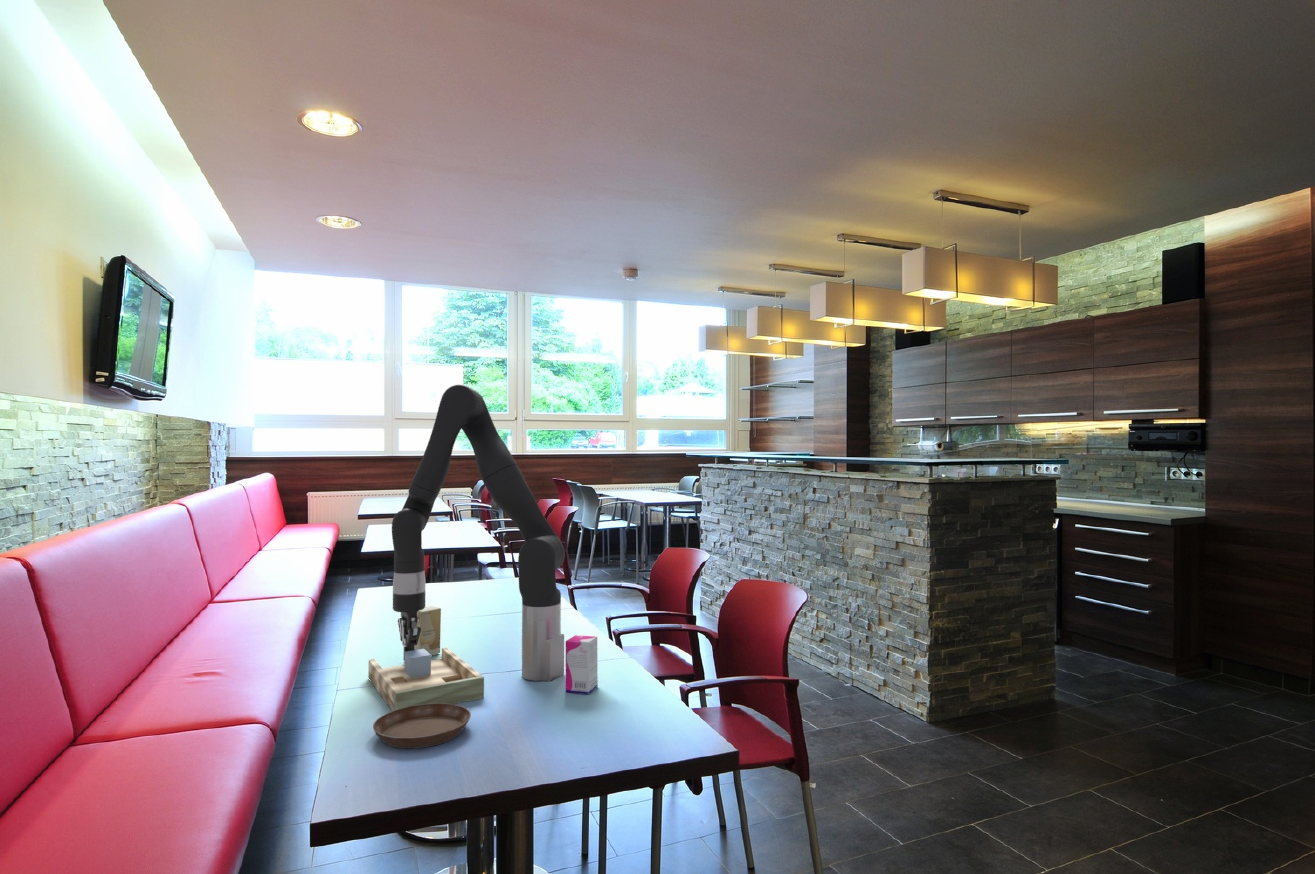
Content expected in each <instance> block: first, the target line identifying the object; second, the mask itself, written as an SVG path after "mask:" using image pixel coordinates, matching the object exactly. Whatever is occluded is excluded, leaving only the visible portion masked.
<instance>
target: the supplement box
mask: <svg viewBox="0 0 1315 874" xmlns="http://www.w3.org/2000/svg"><path fill="white" fill-rule="evenodd" d="M598 682H599V680H598V636H596V635H595V636H591V635H577V634H575V635H573V636H572V637H569V639H567V640H565V693H571V694H579V693H582V694H581V695H590V694H591V693H592V692H593V691H595V690H596V689H597V687H598ZM596 686H597V687H596ZM583 693H584V694H583ZM589 693H590V694H589Z"/></svg>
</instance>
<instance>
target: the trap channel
mask: <svg viewBox="0 0 1315 874" xmlns="http://www.w3.org/2000/svg"><path fill="white" fill-rule="evenodd" d="M367 676H368V678H369V679H370V680H371V682H372V683H373V684H372V683H371V682H370V683H371V684H372V686H373V685H374V686H375V687H376V689H377V690H378V691H377V690H376V689H375V690H376V691H377V693H378V692H379V693H380V694H381V695H380V694H379V693H378V694H379V695H380V697H381V696H382V697H383V698H382V697H381V698H382V699H383V700H385V701H384V702H385V704H387V706H388V707H389V709H390V710H391V712H392V711H395V710H398V709H401V708H405V707H409V706H414V705H421V704H432V703H444V704H454V705H457V704H462V703H465V702H470V701H471V702H472V701H476V700H481V699H484V698H485V676H483V675H482V674H481V673H480V672H478V671H477V670H476V669H474V668H473V667H472V666H471V665H469V664H468V663H467V662H466V661H464V660H463V659H462V658H461V657H459V656H458V655H457V654H455V652H453V651H451V650H450V649H449V648H448V647H443V648H441V658H436V659H431V674H430V675H425V676H419V677H413V678H410V676H409V675H408V674H407V673H406V672H405V671H404V664H400V665H399V664H398V665H394V666H388V667H382V666H380V664H379V663H378V662H377V661H376V660H375V658H372V659H368V675H367ZM369 679H368V680H369ZM370 680H369V681H370ZM374 686H373V687H374ZM375 687H374V688H375Z"/></svg>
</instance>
